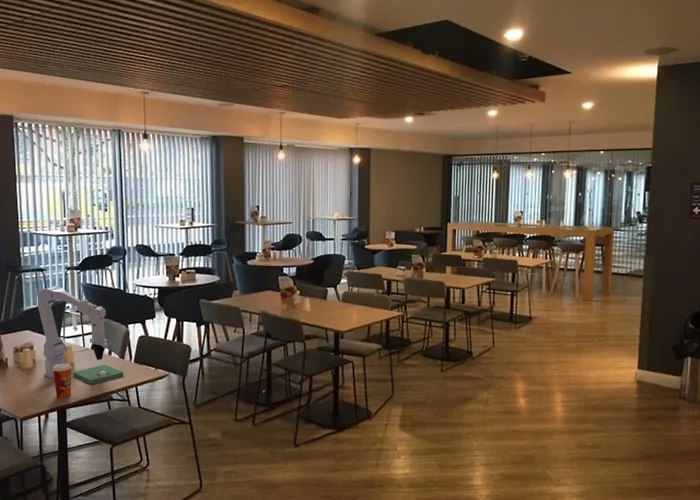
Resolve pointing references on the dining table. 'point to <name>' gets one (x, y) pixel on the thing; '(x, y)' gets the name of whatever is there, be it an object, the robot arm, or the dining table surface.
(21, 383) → the dining table surface
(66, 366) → the paper cup
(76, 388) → the dining table surface
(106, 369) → the putting deck
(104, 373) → the ball
